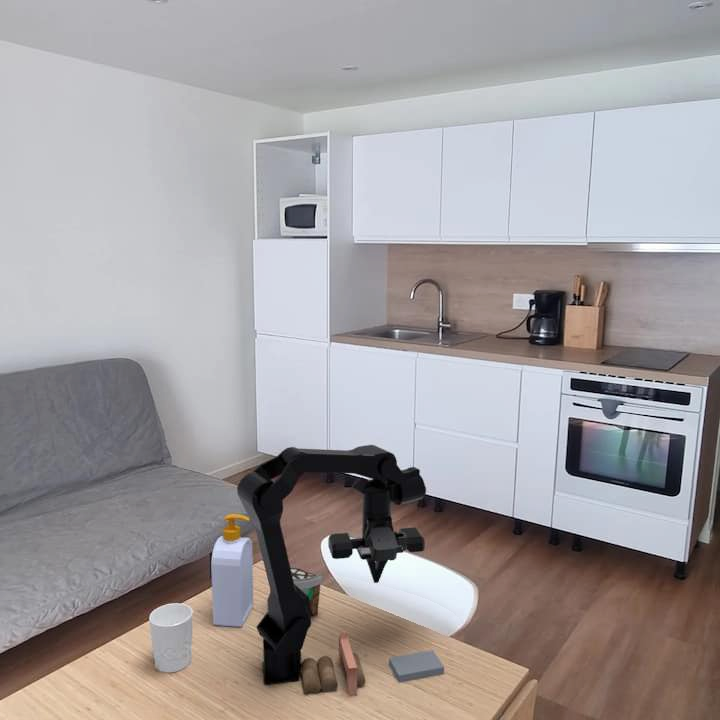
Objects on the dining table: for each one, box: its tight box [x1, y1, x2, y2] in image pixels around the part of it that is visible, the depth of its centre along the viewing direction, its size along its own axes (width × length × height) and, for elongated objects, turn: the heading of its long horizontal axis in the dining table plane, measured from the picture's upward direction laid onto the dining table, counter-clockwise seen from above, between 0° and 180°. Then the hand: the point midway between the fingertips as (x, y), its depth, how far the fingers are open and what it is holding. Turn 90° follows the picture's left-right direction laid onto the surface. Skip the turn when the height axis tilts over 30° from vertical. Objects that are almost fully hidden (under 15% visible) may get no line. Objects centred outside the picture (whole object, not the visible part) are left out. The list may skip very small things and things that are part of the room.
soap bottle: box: [210, 513, 254, 628], centre depth 139 cm, size 9×7×23 cm
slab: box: [388, 649, 445, 684], centre depth 123 cm, size 9×6×2 cm, turn 107°
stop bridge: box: [338, 633, 358, 697], centre depth 120 cm, size 2×10×6 cm, turn 12°
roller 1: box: [301, 657, 322, 696], centre depth 119 cm, size 3×6×3 cm, turn 10°
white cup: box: [148, 602, 194, 674], centre depth 124 cm, size 8×8×10 cm
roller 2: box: [316, 655, 339, 693], centre depth 120 cm, size 3×6×3 cm
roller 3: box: [343, 651, 366, 689], centre depth 121 cm, size 3×6×3 cm, turn 11°
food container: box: [290, 567, 324, 618], centre depth 140 cm, size 12×6×10 cm, turn 62°
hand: (375, 581), depth 132 cm, fingers closed
